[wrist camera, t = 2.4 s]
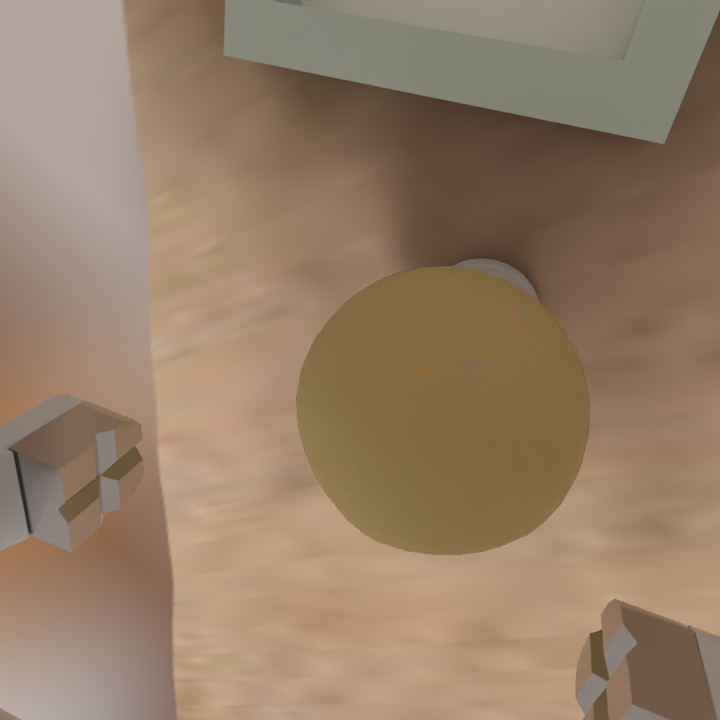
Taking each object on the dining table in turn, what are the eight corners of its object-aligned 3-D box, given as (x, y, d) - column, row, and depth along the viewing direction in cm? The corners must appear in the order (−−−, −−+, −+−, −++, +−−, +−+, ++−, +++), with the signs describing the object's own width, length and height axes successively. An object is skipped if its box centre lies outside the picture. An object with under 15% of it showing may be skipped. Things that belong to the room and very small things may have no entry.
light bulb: (607, 371, 18) (632, 625, 9) (428, 405, 20) (321, 620, 12) (556, 180, 16) (529, 277, 7) (367, 247, 19) (192, 371, 10)
